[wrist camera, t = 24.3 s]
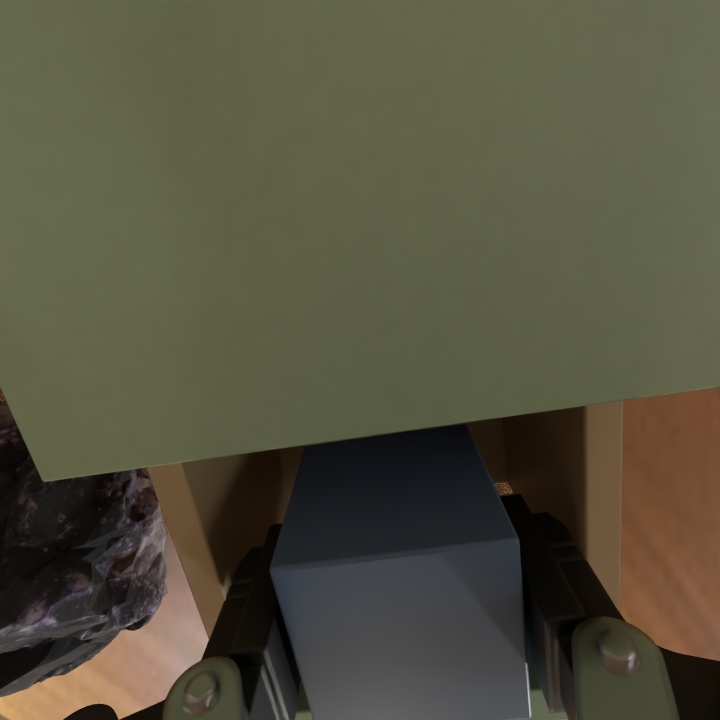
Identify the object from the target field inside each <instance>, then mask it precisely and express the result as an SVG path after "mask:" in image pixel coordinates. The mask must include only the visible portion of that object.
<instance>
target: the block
mask: <svg viewBox="0 0 720 720" xmlns="http://www.w3.org/2000/svg"><path fill="white" fill-rule="evenodd" d="M269 571H270V575H271V578H272V582H273V585H274V588H275V592H276V595H277V599H278V602H279V605H280V609H281V612H282V616H283V619H284V623H285V626H286V629H287V633H288V636H289V640H290V643H291V646H292V650H293V653H294V657H295V660H296V664H297V667H298V670H299V674H300V677H301V681H302V684H303V687H304V691H305V694H306V698H307V701H308V705H309V708H310V711H311V715H312V718H313V720H511V719H523V718H529V717H531V715H532V709H531V695H530V682H529V668H528V654H527V640H526V626H525V612H524V598H523V585H522V571H521V557H520V543H519V538H518V536H517V534H516V532H515V530H514V527H513V525H512V523H511V521H510V519H509V516H508V514H507V512H506V510H505V508H504V506H503V503H502V501H501V499H500V497H499V495H498V492H497V490H496V488H495V486H494V484H493V481H492V479H491V477H490V475H489V473H488V470H487V468H486V466H485V464H484V462H483V459H482V457H481V455H480V453H479V451H478V449H477V446H476V444H475V442H474V440H473V438H472V435H471V433H470V431H469V429H468V427H467V425H465V424H462V425H455V426H448V427H441V428H434V429H427V430H420V431H412V432H405V433H398V434H391V435H384V436H377V437H370V438H363V439H356V440H349V441H341V442H334V443H327V444H320V445H313V446H307V447H305V448H304V452H303V455H302V458H301V462H300V465H299V469H298V472H297V476H296V479H295V482H294V486H293V489H292V493H291V496H290V500H289V503H288V506H287V510H286V513H285V517H284V520H283V524H282V527H281V530H280V534H279V537H278V541H277V544H276V548H275V551H274V554H273V558H272V561H271V565H270V569H269Z"/></svg>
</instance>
